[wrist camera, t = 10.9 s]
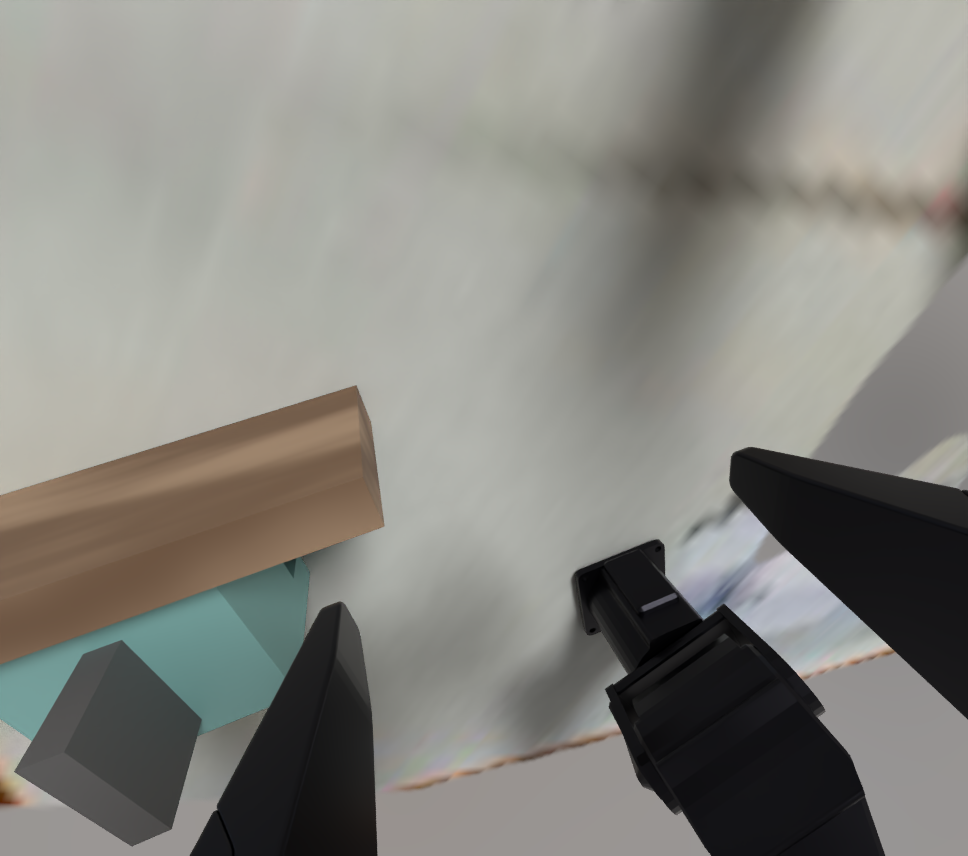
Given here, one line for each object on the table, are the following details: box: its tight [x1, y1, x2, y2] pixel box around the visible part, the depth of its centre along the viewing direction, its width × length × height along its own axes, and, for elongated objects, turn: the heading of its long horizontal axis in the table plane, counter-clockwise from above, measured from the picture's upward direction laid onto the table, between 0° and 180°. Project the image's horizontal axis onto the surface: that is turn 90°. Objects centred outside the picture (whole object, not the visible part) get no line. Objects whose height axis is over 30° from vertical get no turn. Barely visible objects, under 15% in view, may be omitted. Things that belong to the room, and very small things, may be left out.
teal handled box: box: [0, 557, 310, 846], centre depth 17 cm, size 7×8×10 cm
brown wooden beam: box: [0, 386, 384, 664], centre depth 17 cm, size 7×20×8 cm, turn 103°
